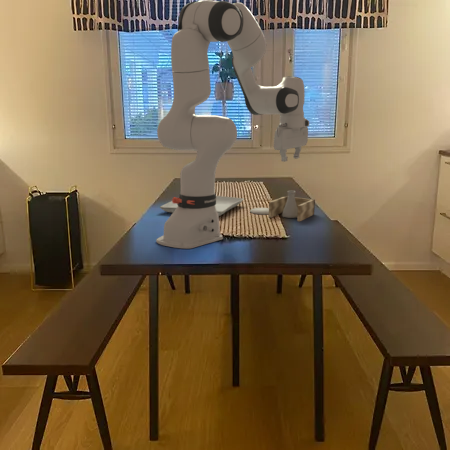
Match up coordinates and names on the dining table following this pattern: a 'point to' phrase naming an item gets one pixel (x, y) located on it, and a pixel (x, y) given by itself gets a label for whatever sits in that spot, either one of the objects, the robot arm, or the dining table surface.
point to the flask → (290, 206)
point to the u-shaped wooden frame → (303, 206)
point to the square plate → (221, 205)
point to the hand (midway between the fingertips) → (290, 159)
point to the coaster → (260, 211)
